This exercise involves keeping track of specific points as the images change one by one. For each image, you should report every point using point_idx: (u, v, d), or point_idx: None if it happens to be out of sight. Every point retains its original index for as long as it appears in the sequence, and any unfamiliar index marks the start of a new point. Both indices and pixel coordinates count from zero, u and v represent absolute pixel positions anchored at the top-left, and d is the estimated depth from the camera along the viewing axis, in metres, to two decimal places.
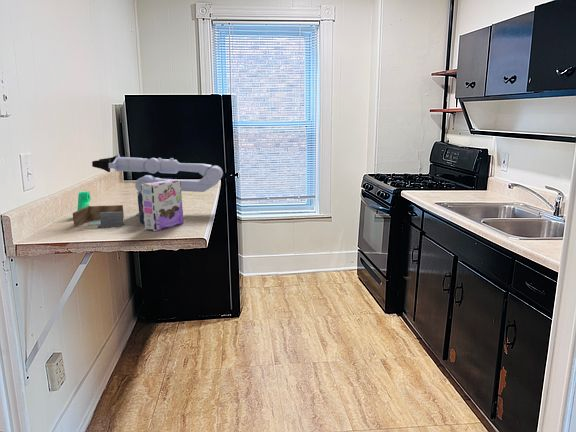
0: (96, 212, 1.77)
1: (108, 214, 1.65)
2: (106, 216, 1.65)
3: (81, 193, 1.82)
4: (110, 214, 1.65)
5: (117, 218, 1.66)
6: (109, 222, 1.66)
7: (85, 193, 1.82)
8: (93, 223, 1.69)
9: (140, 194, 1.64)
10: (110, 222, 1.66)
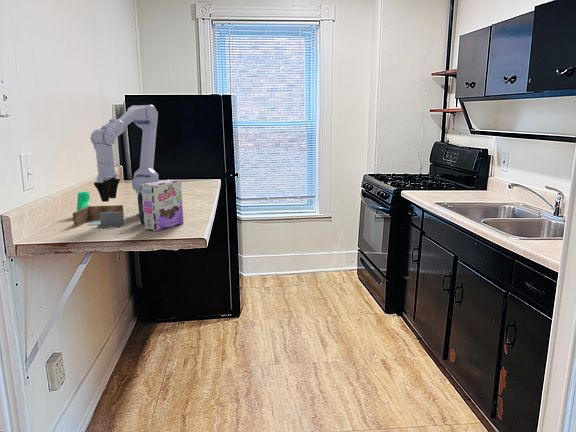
0: (96, 212, 1.77)
1: (108, 214, 1.65)
2: (106, 216, 1.65)
3: (80, 193, 1.82)
4: (110, 214, 1.65)
5: (117, 218, 1.66)
6: (109, 222, 1.66)
7: (84, 193, 1.82)
8: (93, 223, 1.69)
9: (140, 194, 1.64)
10: (110, 222, 1.66)
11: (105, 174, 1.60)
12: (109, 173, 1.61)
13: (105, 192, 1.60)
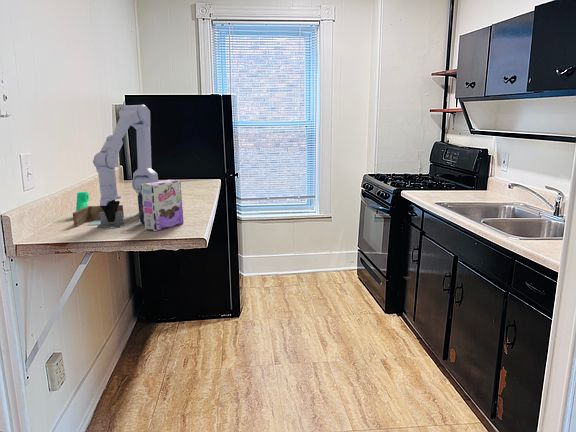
0: (96, 212, 1.77)
1: None
2: None
3: (80, 193, 1.82)
4: None
5: (117, 218, 1.66)
6: (109, 222, 1.66)
7: (84, 193, 1.82)
8: (93, 223, 1.69)
9: (140, 194, 1.64)
10: (110, 222, 1.66)
11: (108, 197, 1.62)
12: (112, 195, 1.62)
13: (111, 213, 1.64)
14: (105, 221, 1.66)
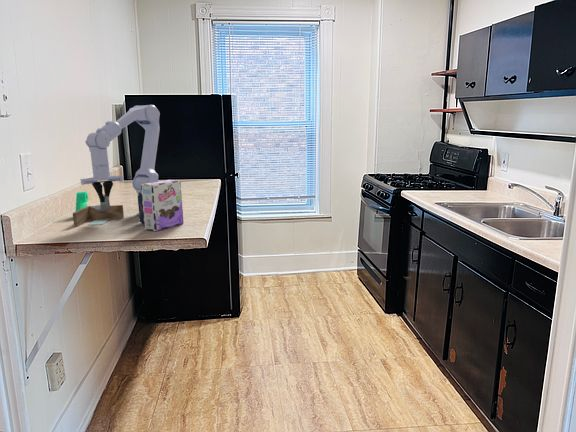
0: (96, 212, 1.77)
1: None
2: None
3: (79, 193, 1.82)
4: None
5: (104, 202, 1.66)
6: (102, 204, 1.68)
7: (83, 193, 1.82)
8: (93, 223, 1.69)
9: (140, 194, 1.64)
10: (103, 205, 1.68)
11: (94, 177, 1.64)
12: (96, 176, 1.63)
13: (100, 193, 1.66)
14: (101, 203, 1.69)
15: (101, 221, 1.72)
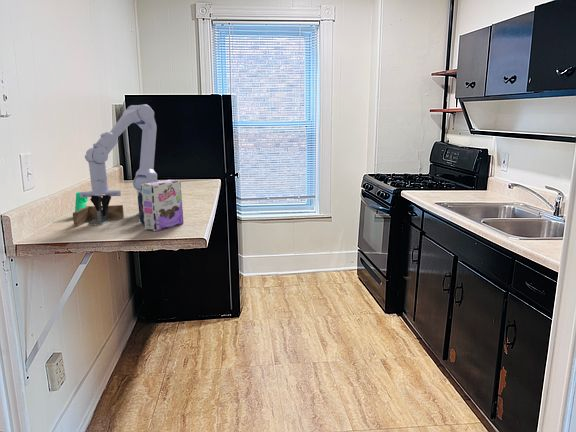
0: (96, 212, 1.77)
1: None
2: None
3: (78, 193, 1.81)
4: None
5: None
6: None
7: None
8: None
9: (140, 194, 1.64)
10: None
11: None
12: (92, 190, 1.67)
13: None
14: None
15: None
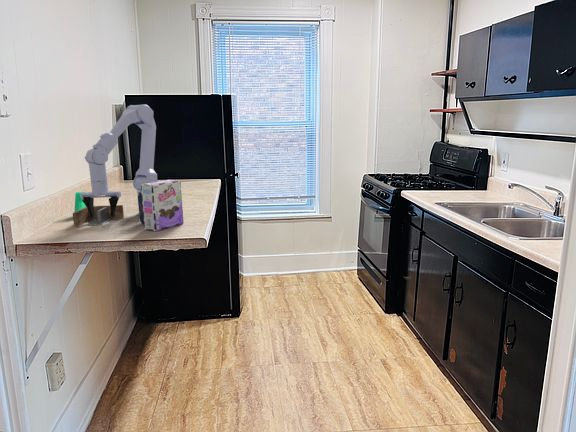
0: (96, 212, 1.77)
1: None
2: None
3: (78, 193, 1.81)
4: None
5: None
6: None
7: None
8: None
9: (140, 194, 1.64)
10: None
11: None
12: (92, 191, 1.67)
13: None
14: None
15: None
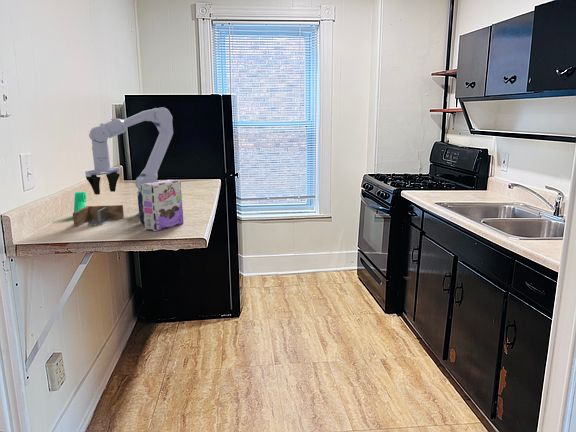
0: (96, 212, 1.77)
1: None
2: None
3: (77, 193, 1.81)
4: None
5: None
6: None
7: (81, 193, 1.82)
8: None
9: (140, 194, 1.64)
10: None
11: (97, 169, 1.71)
12: (101, 168, 1.71)
13: (96, 186, 1.71)
14: None
15: None
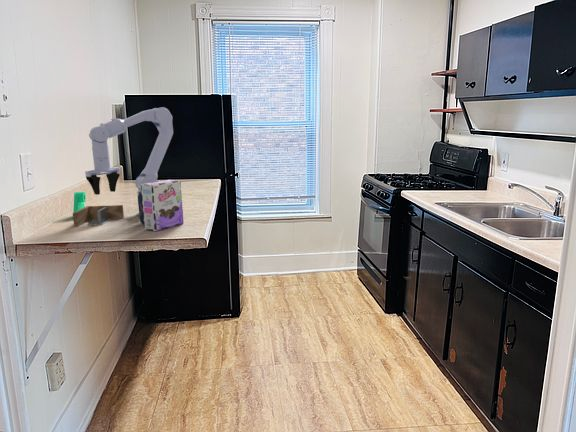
0: (96, 212, 1.77)
1: None
2: None
3: (77, 193, 1.81)
4: None
5: None
6: None
7: (81, 193, 1.82)
8: None
9: (140, 194, 1.64)
10: None
11: (97, 169, 1.71)
12: (101, 168, 1.71)
13: (96, 186, 1.71)
14: None
15: None
